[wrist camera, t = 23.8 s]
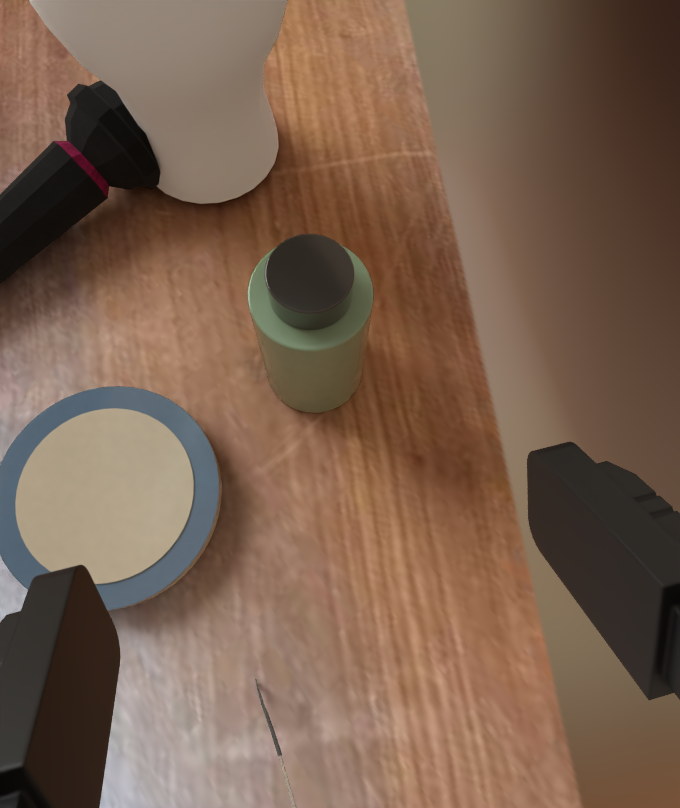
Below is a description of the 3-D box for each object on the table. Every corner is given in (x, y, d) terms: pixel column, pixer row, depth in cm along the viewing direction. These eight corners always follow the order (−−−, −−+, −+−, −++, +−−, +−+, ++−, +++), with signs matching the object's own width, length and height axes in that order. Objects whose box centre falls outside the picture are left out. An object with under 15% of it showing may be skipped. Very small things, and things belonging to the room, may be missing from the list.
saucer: (55, 654, 27) (39, 658, 25) (-24, 457, 29) (-43, 449, 28) (261, 539, 29) (257, 536, 27) (169, 362, 31) (161, 350, 30)
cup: (189, 42, 37) (101, -317, 22) (341, 123, 35) (351, -205, 21) (72, 167, 34) (-116, -151, 19) (230, 262, 32) (154, -6, 18)
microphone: (-73, 410, 33) (200, 162, 35) (-138, 413, 27) (192, 117, 30) (-153, 336, 32) (129, 88, 35) (-237, 323, 27) (107, 27, 29)
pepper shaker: (252, 395, 31) (221, 310, 22) (286, 312, 32) (269, 198, 23) (345, 425, 30) (352, 351, 21) (374, 340, 32) (393, 235, 23)
